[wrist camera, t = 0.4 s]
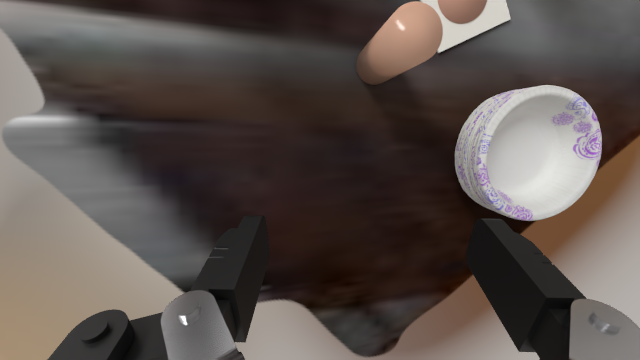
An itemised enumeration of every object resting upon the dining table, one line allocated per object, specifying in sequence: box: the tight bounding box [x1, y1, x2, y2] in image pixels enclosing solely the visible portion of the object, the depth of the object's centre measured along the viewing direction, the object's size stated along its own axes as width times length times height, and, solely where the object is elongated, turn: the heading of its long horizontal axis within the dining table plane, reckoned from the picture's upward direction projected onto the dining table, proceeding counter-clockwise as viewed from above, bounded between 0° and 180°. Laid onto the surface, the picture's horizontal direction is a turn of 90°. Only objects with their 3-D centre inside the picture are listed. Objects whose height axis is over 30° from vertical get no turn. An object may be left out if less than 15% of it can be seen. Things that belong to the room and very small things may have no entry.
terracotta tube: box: [356, 2, 443, 85], centre depth 29 cm, size 5×5×12 cm
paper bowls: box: [455, 85, 602, 221], centre depth 35 cm, size 15×15×8 cm
